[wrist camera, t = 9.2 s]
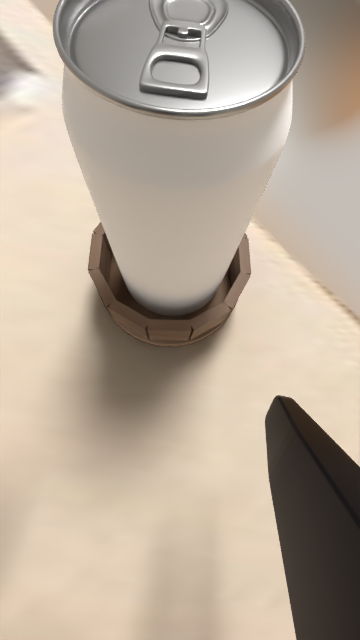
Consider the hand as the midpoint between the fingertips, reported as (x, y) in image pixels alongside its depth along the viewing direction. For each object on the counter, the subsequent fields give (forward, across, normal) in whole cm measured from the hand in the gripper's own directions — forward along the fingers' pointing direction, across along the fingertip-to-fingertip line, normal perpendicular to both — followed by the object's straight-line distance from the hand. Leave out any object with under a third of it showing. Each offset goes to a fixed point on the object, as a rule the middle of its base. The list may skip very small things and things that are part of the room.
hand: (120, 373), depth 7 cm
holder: (+12, 0, +1) cm, 12 cm away
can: (+11, 0, 0) cm, 11 cm away
